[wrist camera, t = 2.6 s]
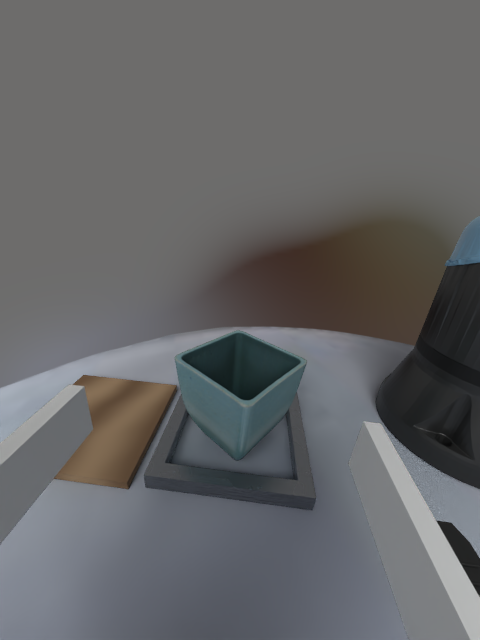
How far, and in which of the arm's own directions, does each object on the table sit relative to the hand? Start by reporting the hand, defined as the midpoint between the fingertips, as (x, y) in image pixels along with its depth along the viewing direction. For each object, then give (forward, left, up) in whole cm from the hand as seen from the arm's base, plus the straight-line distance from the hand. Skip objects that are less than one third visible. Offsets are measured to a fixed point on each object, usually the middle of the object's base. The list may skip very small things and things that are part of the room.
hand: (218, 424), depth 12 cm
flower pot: (-1, -10, -12) cm, 16 cm away
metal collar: (-1, -10, -12) cm, 15 cm away
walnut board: (+13, -9, -12) cm, 20 cm away
